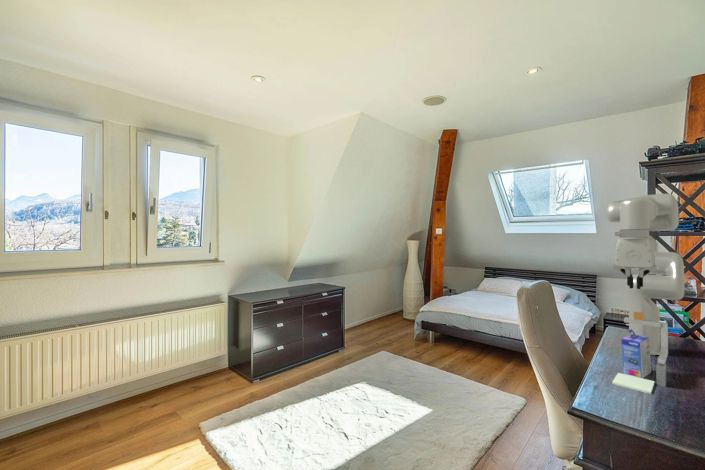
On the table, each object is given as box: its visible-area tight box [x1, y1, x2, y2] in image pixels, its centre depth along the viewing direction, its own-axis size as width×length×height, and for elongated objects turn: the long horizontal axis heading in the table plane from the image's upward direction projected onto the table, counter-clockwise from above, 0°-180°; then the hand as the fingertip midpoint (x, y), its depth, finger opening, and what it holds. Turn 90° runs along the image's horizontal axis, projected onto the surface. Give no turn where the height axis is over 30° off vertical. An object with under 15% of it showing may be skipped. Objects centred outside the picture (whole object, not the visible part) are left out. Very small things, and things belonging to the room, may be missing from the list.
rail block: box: [655, 361, 667, 387], centre depth 102 cm, size 4×2×6 cm, turn 132°
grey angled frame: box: [623, 312, 669, 364], centre depth 110 cm, size 15×11×13 cm
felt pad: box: [611, 372, 656, 395], centre depth 102 cm, size 11×9×1 cm
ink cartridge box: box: [620, 329, 652, 379], centre depth 110 cm, size 10×6×14 cm, turn 124°
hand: (635, 288), depth 110 cm, fingers closed
